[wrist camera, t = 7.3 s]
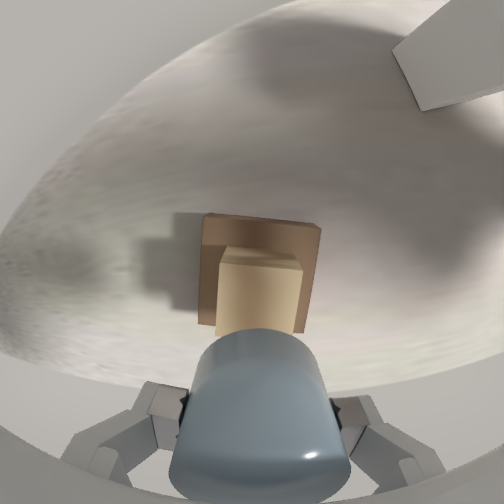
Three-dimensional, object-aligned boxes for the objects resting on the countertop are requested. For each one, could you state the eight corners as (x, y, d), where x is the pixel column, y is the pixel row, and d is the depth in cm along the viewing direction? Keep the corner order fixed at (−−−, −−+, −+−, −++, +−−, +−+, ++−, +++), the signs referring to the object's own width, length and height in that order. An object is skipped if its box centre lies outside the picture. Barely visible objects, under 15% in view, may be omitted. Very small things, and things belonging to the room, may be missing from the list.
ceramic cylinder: (330, 331, 10) (378, 431, 5) (305, 421, 11) (322, 512, 6) (197, 321, 10) (158, 425, 5) (196, 414, 11) (177, 507, 6)
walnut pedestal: (313, 223, 24) (321, 228, 21) (298, 318, 26) (303, 333, 23) (209, 213, 24) (203, 216, 21) (203, 309, 26) (197, 323, 23)
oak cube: (292, 251, 22) (303, 270, 17) (283, 310, 23) (291, 342, 18) (227, 245, 22) (219, 262, 17) (222, 305, 23) (215, 335, 18)
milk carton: (420, 112, 22) (573, 67, 3) (390, 50, 20) (506, -42, 2) (462, 102, 21) (593, 72, 2) (435, 46, 19) (545, -16, 1)
